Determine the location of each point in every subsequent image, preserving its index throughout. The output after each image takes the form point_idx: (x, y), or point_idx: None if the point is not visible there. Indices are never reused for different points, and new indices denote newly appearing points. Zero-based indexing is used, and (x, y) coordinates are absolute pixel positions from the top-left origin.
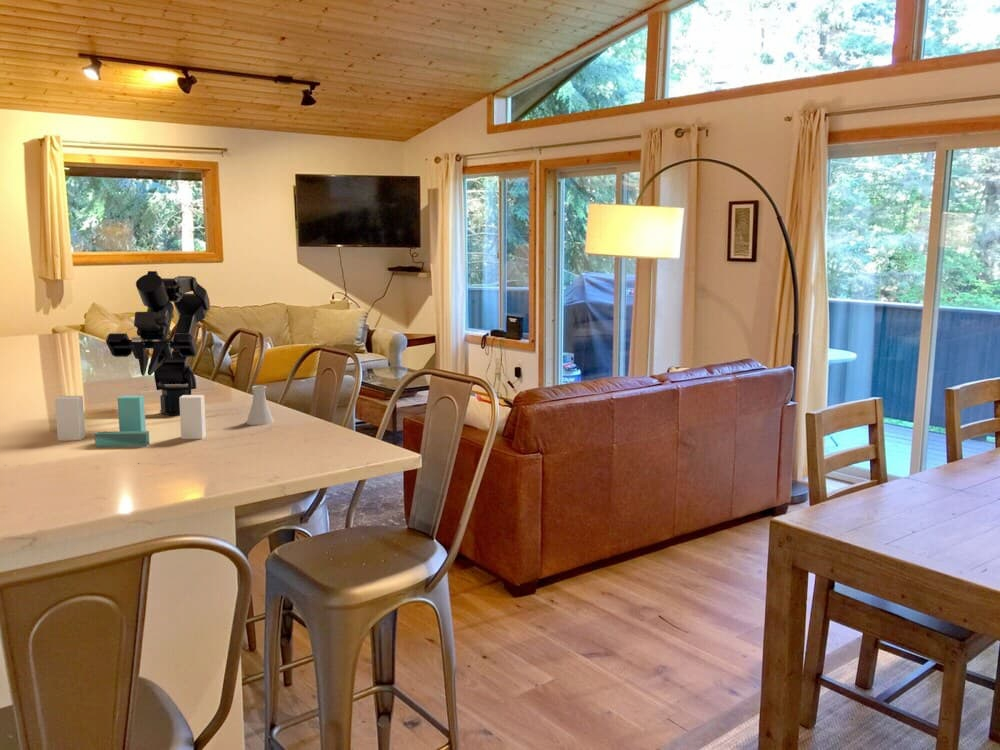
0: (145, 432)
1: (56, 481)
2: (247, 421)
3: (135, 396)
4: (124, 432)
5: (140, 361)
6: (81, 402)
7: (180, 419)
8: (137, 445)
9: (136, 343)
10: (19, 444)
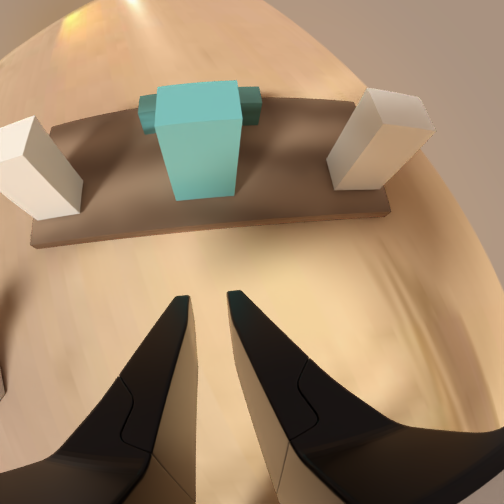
0: (142, 103)
1: (234, 19)
2: None
3: (180, 104)
4: None
5: (280, 346)
6: (370, 125)
7: (62, 154)
8: None
9: (470, 463)
10: (442, 199)
